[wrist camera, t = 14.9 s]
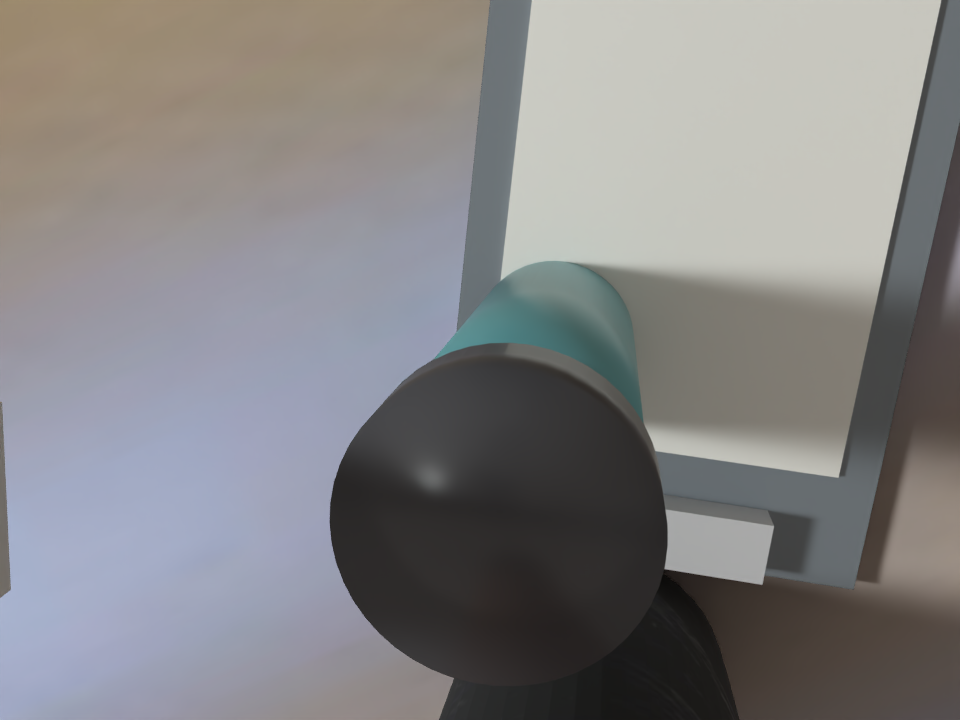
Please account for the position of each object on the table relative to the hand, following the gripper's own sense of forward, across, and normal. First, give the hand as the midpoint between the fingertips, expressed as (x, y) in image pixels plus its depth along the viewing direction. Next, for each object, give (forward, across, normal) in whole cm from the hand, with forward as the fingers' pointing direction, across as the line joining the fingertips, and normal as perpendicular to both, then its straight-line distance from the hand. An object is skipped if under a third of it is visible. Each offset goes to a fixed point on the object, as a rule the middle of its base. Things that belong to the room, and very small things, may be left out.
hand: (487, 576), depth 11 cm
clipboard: (+13, +3, +3) cm, 14 cm away
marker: (+12, 0, 0) cm, 12 cm away
